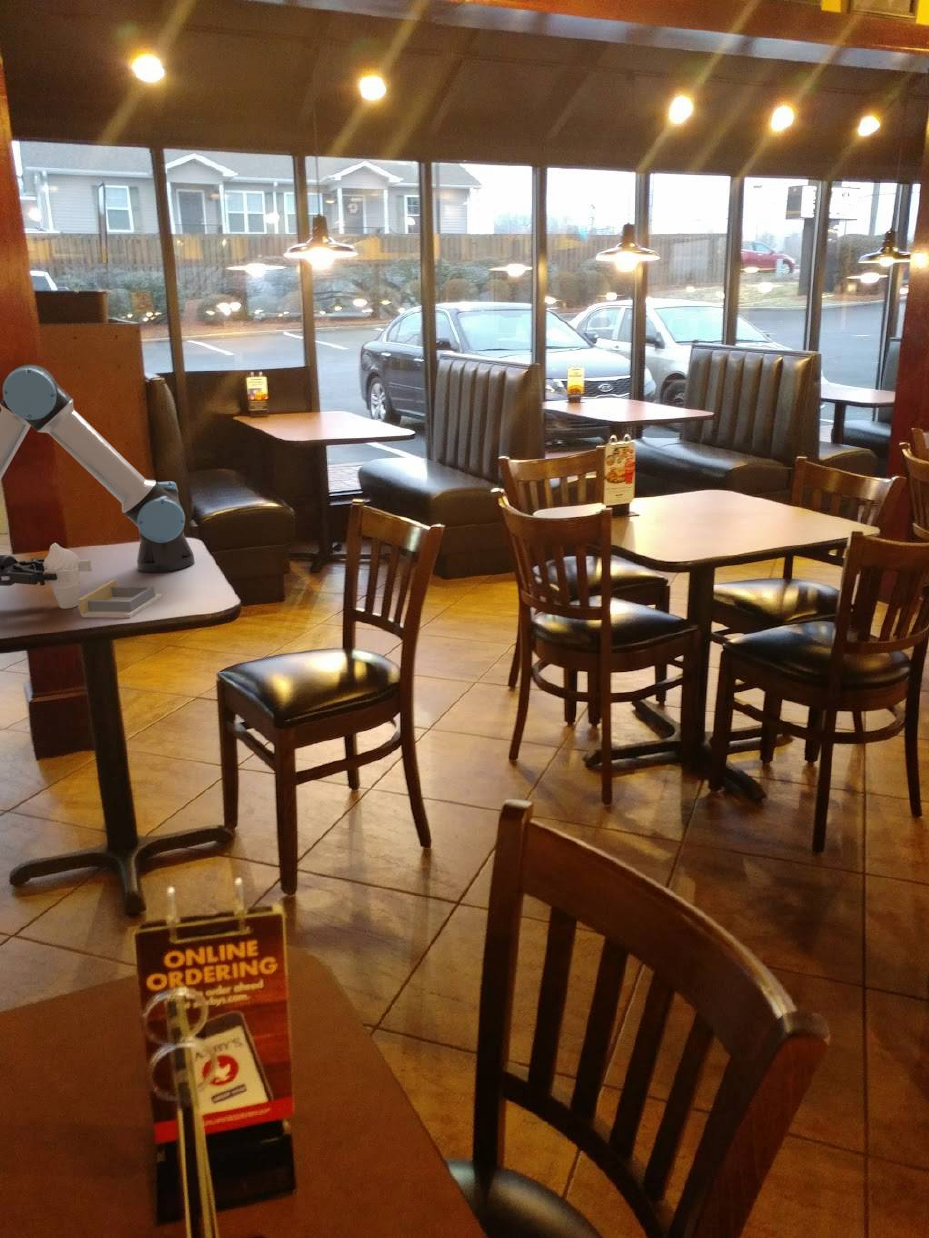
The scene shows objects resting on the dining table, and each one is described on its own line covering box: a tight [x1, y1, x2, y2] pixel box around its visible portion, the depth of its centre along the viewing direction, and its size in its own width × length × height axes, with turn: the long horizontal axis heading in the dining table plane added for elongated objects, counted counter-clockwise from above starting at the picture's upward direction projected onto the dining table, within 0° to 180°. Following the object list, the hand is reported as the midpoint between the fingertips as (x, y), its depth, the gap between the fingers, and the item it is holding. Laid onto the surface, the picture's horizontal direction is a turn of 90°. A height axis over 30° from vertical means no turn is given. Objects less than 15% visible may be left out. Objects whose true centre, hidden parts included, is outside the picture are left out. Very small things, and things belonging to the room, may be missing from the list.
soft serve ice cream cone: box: [43, 542, 81, 610], centre depth 247 cm, size 8×8×16 cm
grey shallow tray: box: [77, 579, 163, 619], centre depth 246 cm, size 13×16×4 cm
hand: (80, 570), depth 245 cm, fingers closed on soft serve ice cream cone, 8 cm apart
